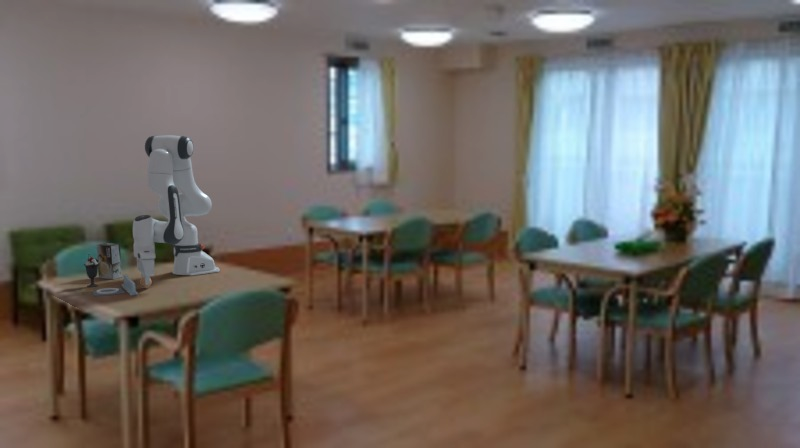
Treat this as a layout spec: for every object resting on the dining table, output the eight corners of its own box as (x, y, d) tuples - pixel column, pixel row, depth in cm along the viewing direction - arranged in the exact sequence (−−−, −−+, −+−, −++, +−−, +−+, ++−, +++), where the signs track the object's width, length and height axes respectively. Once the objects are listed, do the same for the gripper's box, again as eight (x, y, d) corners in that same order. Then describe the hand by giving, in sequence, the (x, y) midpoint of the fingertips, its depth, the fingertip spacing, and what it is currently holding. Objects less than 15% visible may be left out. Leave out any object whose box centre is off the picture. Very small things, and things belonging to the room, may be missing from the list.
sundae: (85, 288, 338) (83, 255, 336) (84, 285, 344) (82, 252, 342) (101, 286, 341) (99, 253, 340) (99, 284, 347) (97, 251, 345)
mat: (120, 288, 338) (120, 286, 338) (124, 293, 328) (124, 291, 328) (91, 291, 332) (91, 289, 332) (95, 296, 322) (95, 294, 322)
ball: (150, 286, 341) (150, 275, 341) (152, 288, 337) (152, 277, 336) (139, 287, 339) (138, 276, 338) (141, 289, 335) (140, 278, 334)
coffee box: (122, 277, 364) (121, 243, 362) (113, 279, 358) (111, 245, 356) (107, 275, 367) (105, 242, 365) (97, 278, 361) (96, 244, 359)
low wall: (128, 285, 345) (128, 274, 344) (137, 294, 326) (137, 283, 325) (121, 286, 343) (121, 275, 343) (130, 295, 324) (130, 283, 324)
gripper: (132, 249, 343) (134, 279, 345) (141, 256, 326) (142, 288, 328) (147, 248, 346) (148, 278, 348) (156, 255, 329) (157, 286, 331)
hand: (145, 282), depth 338 cm, fingers closed on ball, 5 cm apart
